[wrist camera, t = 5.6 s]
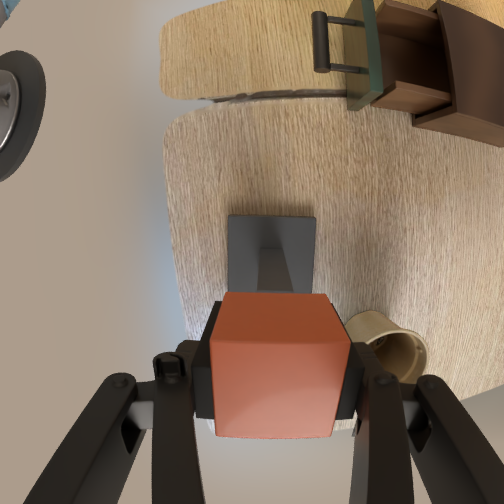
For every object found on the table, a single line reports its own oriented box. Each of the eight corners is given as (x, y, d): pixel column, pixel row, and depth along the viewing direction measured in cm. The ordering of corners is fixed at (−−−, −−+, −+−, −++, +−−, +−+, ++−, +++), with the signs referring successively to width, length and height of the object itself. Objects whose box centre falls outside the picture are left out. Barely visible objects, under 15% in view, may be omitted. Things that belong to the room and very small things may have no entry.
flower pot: (390, 365, 36) (413, 404, 28) (322, 365, 37) (334, 409, 28) (407, 298, 34) (440, 329, 26) (335, 295, 34) (354, 329, 26)
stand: (229, 295, 35) (208, 362, 21) (229, 214, 33) (204, 237, 19) (309, 297, 35) (333, 364, 21) (314, 216, 33) (348, 241, 19)
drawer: (307, 106, 29) (319, 84, 22) (304, 17, 27) (313, -20, 19) (452, 128, 29) (491, 119, 21) (443, 44, 26) (475, 23, 19)
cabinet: (412, 126, 30) (457, 112, 21) (403, 33, 27) (438, -1, 18) (499, 147, 29) (548, 144, 20) (490, 62, 27) (532, 45, 17)
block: (226, 374, 16) (215, 437, 12) (225, 291, 15) (208, 339, 11) (316, 375, 16) (331, 437, 11) (326, 293, 15) (351, 341, 10)
